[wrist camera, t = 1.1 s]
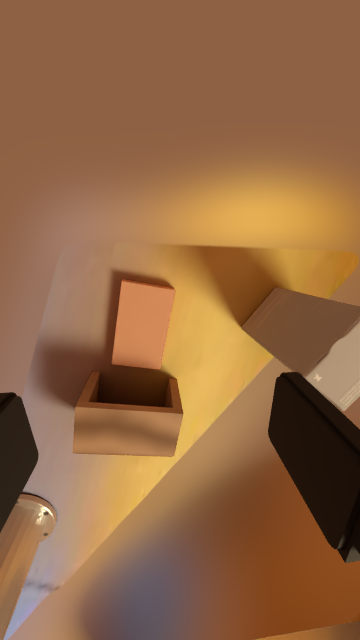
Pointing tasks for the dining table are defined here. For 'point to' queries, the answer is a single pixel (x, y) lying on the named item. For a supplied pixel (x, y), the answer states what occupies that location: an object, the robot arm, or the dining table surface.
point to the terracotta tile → (142, 324)
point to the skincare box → (312, 340)
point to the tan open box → (126, 424)
